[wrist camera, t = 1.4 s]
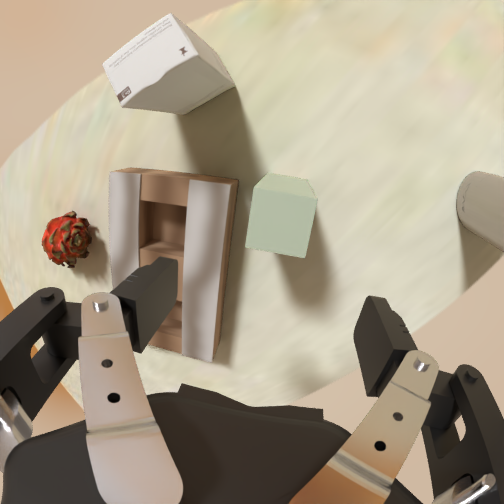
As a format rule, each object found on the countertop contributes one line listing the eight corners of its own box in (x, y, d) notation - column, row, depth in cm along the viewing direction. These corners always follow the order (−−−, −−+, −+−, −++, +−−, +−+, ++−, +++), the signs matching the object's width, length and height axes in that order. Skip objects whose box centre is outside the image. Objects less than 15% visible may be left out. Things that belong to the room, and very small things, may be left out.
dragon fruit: (109, 218, 41) (76, 242, 46) (69, 189, 35) (42, 220, 40) (95, 262, 37) (64, 281, 42) (49, 234, 31) (26, 260, 35)
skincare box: (217, 53, 29) (174, 6, 16) (237, 88, 31) (202, 52, 17) (163, 85, 32) (98, 61, 18) (181, 119, 33) (118, 108, 19)
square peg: (307, 179, 34) (317, 198, 21) (300, 217, 36) (304, 258, 23) (268, 172, 34) (253, 187, 21) (262, 210, 36) (244, 247, 23)
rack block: (239, 179, 35) (230, 185, 30) (219, 341, 45) (211, 362, 40) (130, 167, 36) (109, 171, 31) (133, 318, 46) (119, 335, 41)
